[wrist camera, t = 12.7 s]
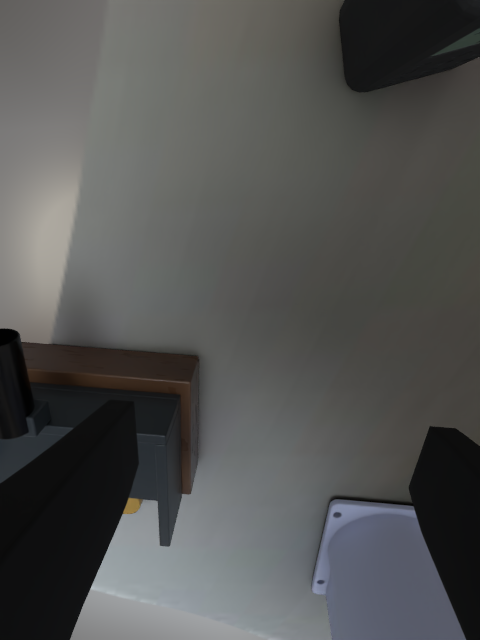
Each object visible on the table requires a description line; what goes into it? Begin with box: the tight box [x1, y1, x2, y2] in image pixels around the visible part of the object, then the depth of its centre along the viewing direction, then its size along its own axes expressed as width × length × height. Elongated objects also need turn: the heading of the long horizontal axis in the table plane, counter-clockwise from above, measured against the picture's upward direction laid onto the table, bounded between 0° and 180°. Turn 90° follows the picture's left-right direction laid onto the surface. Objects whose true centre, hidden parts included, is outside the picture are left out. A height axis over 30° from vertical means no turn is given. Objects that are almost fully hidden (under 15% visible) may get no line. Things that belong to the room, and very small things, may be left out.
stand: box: [21, 342, 199, 494], centre depth 20 cm, size 8×13×2 cm, turn 87°
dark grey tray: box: [0, 329, 182, 547], centre depth 17 cm, size 11×12×4 cm
